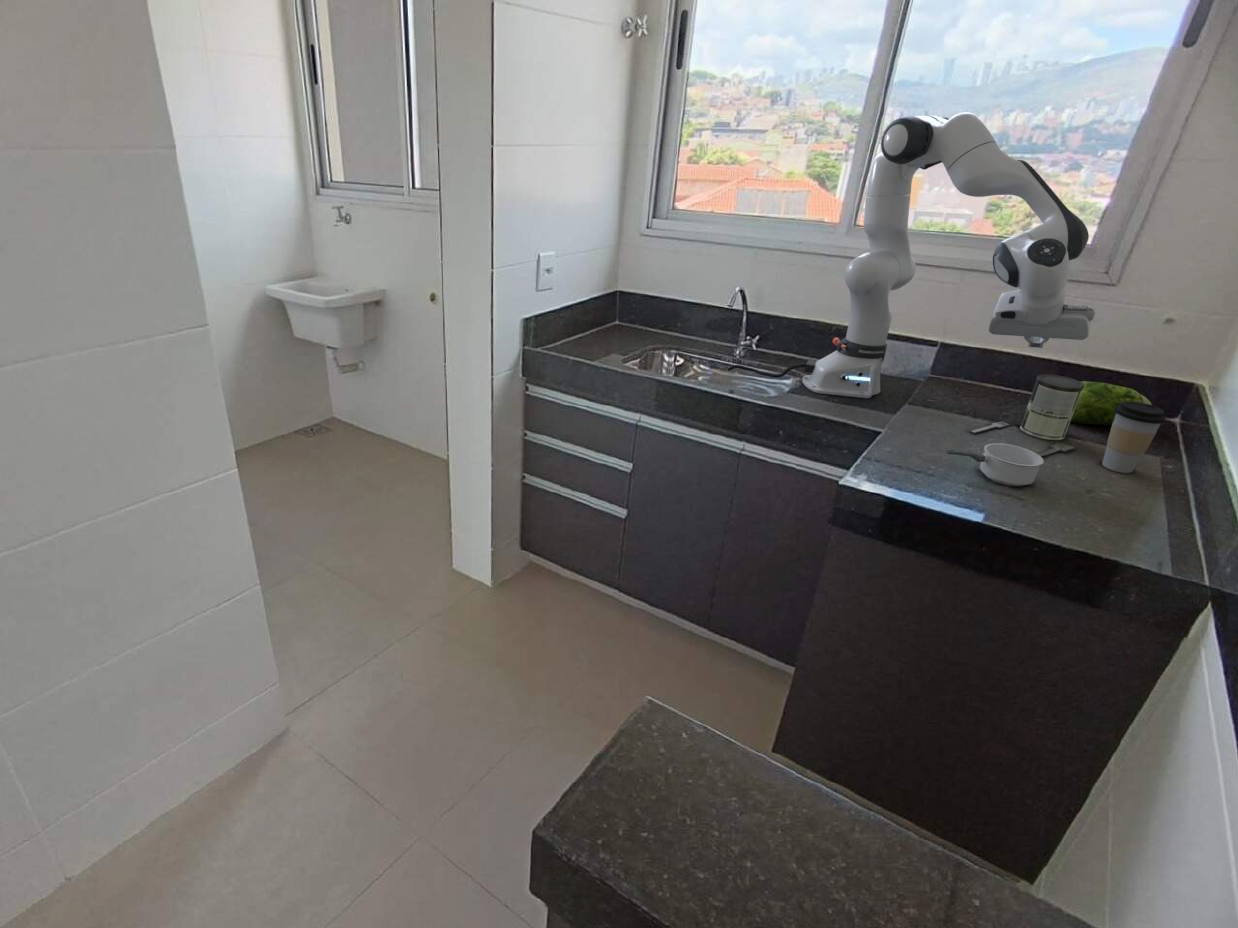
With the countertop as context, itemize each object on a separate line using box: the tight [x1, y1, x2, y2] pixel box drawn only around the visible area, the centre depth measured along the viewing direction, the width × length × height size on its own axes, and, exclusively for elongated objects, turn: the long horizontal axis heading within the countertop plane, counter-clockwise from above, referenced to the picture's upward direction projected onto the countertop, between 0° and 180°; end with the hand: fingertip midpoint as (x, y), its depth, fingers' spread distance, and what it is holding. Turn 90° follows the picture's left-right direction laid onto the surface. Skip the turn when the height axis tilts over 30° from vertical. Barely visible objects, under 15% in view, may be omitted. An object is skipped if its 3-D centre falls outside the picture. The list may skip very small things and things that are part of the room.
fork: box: [969, 421, 1010, 435], centre depth 170 cm, size 15×2×1 cm, turn 122°
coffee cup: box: [1102, 401, 1167, 474], centre depth 149 cm, size 9×9×15 cm
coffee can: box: [1019, 374, 1085, 441], centre depth 167 cm, size 10×10×14 cm
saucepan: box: [945, 442, 1044, 487], centre depth 143 cm, size 12×20×6 cm, turn 89°
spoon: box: [1037, 442, 1075, 458], centre depth 158 cm, size 14×3×1 cm, turn 122°
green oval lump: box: [1070, 380, 1152, 426], centre depth 176 cm, size 12×21×11 cm, turn 84°
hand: (1036, 345), depth 160 cm, fingers closed
